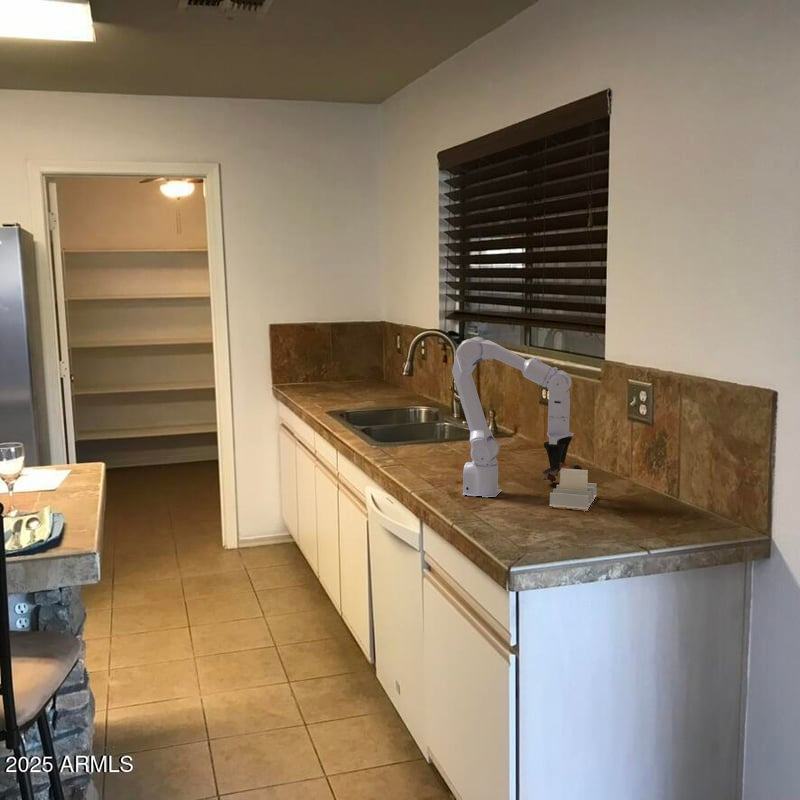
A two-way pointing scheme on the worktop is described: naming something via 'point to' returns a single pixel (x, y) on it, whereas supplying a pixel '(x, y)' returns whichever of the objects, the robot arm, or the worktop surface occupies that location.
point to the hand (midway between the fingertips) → (557, 465)
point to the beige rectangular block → (573, 479)
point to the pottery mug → (551, 473)
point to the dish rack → (573, 497)
